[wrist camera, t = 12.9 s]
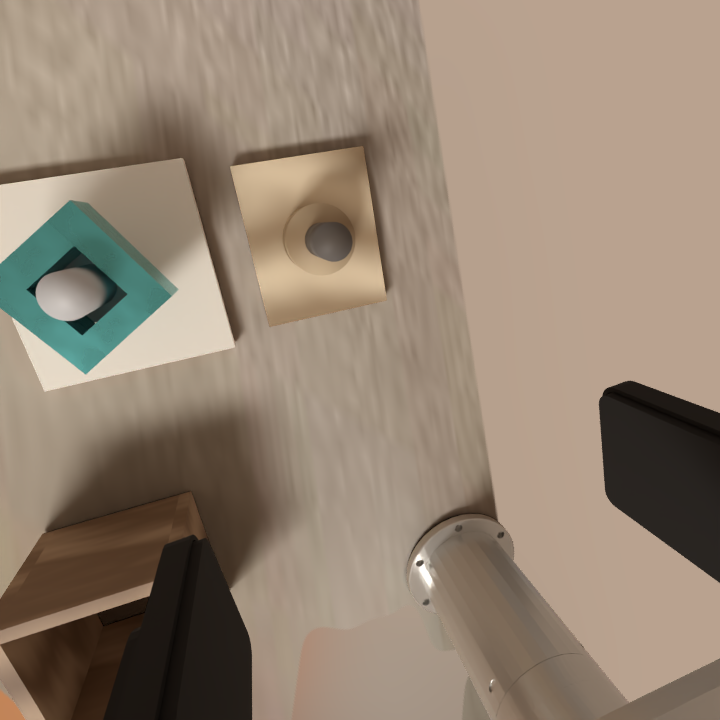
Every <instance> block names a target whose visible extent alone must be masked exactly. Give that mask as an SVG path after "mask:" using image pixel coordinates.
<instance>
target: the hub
mask: <svg viewBox="0 0 720 720" xmlns="http://www.w3.org/2000/svg"><path fill="white" fill-rule="evenodd" d="M69 200H73V201H80V202H86V203H89V204H90V205H91V206H92V207H93V208H94V209H95V210H96V211H97V212H98V213H99V214H100V215H101V216H102V217H103V218H104V219H105V220H107V221H108V222H109V223H110V224H111V225H112V226H113V227H114V228H115V229H116V230H117V231H118V232H119V233H120V234H121V235H122V236H123V237H124V238H125V239H126V240H127V241H128V242H130V243H131V244H132V245H133V246H134V247H135V248H136V249H137V250H138V251H139V252H140V253H141V254H142V255H143V256H144V257H145V258H146V259H147V260H148V261H149V262H150V263H151V264H153V265H154V266H155V267H156V268H157V269H158V270H159V271H160V272H161V273H162V274H163V275H164V276H165V277H166V278H167V279H168V280H169V281H170V282H171V283H172V284H173V285H174V286H176V287H177V288H178V289H179V290H178V291H177V292H176V293H175V294H174V295H173V296H172V297H171V298H169V299H168V300H167V301H166V302H165V303H164V304H163V305H162V306H161V307H160V308H158V309H157V310H156V311H155V312H154V313H153V314H152V315H151V316H150V317H149V318H147V319H146V320H145V321H144V322H143V323H142V324H141V325H140V326H139V327H138V328H137V329H135V330H134V331H133V332H132V333H131V334H130V335H129V336H128V337H127V338H126V339H124V340H123V341H122V342H121V343H120V344H119V345H118V346H117V347H116V348H115V349H113V350H112V351H111V352H110V353H109V354H108V355H107V356H106V357H105V358H104V359H102V360H101V361H100V362H99V363H98V364H97V365H96V366H95V367H94V368H93V369H92V370H90V371H89V372H88V373H87V374H86V375H85V374H84V373H83V372H82V371H80V370H79V369H78V368H76V367H75V366H74V365H73V364H71V363H70V362H69V361H68V360H66V359H65V358H64V357H62V356H61V355H60V354H59V353H57V352H56V351H55V350H53V349H52V348H51V347H50V346H48V345H47V344H46V343H45V342H43V341H42V340H41V339H39V338H38V337H37V336H36V335H34V334H33V333H32V332H30V331H29V330H28V329H27V328H25V327H24V326H23V325H22V324H20V323H19V322H18V321H16V320H15V319H14V318H13V317H12V319H13V322H14V324H15V326H16V328H17V331H18V333H19V335H20V337H21V339H22V342H23V344H24V346H25V348H26V351H27V353H28V355H29V357H30V360H31V362H32V364H33V366H34V369H35V371H36V373H37V375H38V378H39V380H40V382H41V384H42V387H43V389H44V391H49V390H53V389H57V388H62V387H66V386H70V385H75V384H79V383H83V382H88V381H92V380H96V379H101V378H105V377H109V376H114V375H118V374H122V373H127V372H131V371H135V370H139V369H144V368H148V367H152V366H157V365H161V364H165V363H170V362H174V361H178V360H183V359H187V358H191V357H196V356H200V355H204V354H209V353H213V352H217V351H221V350H226V349H230V348H234V347H235V341H234V337H233V334H232V330H231V326H230V323H229V319H228V316H227V312H226V308H225V305H224V301H223V298H222V294H221V290H220V287H219V283H218V280H217V276H216V272H215V269H214V265H213V262H212V258H211V254H210V251H209V247H208V244H207V240H206V236H205V233H204V229H203V226H202V222H201V218H200V215H199V211H198V208H197V204H196V200H195V197H194V193H193V190H192V186H191V182H190V179H189V175H188V172H187V168H186V164H185V161H184V159H183V158H177V159H171V160H164V161H157V162H151V163H144V164H137V165H130V166H124V167H117V168H110V169H103V170H97V171H90V172H83V173H77V174H70V175H63V176H56V177H50V178H43V179H36V180H29V181H23V182H16V183H9V184H2V185H0V263H2V262H3V261H4V260H5V259H6V258H7V257H8V256H9V255H10V254H11V253H12V252H14V251H15V250H16V249H17V248H18V247H19V246H20V245H21V244H22V243H23V242H25V241H26V240H27V239H28V238H29V237H30V236H31V235H32V234H33V233H34V232H35V231H37V230H38V229H39V228H40V227H41V226H42V225H43V224H44V223H45V222H46V221H48V220H49V219H50V218H51V217H52V216H53V215H54V214H55V213H56V212H57V211H58V210H60V209H61V208H62V207H63V206H64V205H65V204H66V203H67V202H68V201H69ZM126 295H127V293H126V292H125V291H124V290H123V289H121V288H120V287H119V286H118V285H117V284H116V283H115V282H114V281H113V280H111V279H110V278H109V277H108V276H107V275H106V274H105V273H104V272H103V271H101V270H100V269H99V268H98V267H97V266H96V265H95V264H94V263H93V262H91V261H90V260H89V259H88V258H87V257H86V256H85V255H84V254H83V253H81V254H80V255H79V256H78V257H77V258H75V259H74V260H73V261H72V262H71V263H70V264H69V265H68V266H67V267H66V268H64V269H63V270H61V271H57V272H53V273H50V274H48V275H46V276H44V277H43V278H42V279H41V280H40V281H39V283H38V285H37V288H36V299H37V302H38V304H39V306H40V307H41V308H42V310H43V311H44V312H45V313H47V314H48V315H49V316H51V317H53V318H55V319H58V320H62V321H73V320H77V319H80V318H82V317H83V316H85V315H86V316H88V317H89V318H90V319H91V320H92V321H94V322H95V323H97V322H98V321H99V320H100V319H101V318H102V317H103V316H104V315H105V314H107V313H108V312H109V311H110V310H111V309H112V308H113V307H114V306H115V305H116V304H117V303H119V302H120V301H121V300H122V299H123V298H124V297H125V296H126Z"/></svg>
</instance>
